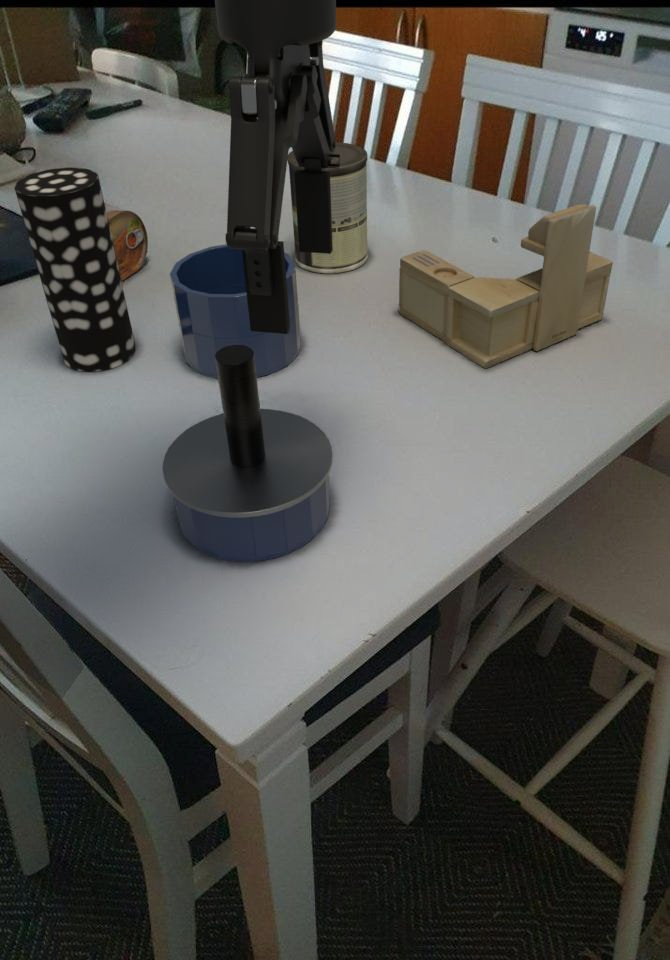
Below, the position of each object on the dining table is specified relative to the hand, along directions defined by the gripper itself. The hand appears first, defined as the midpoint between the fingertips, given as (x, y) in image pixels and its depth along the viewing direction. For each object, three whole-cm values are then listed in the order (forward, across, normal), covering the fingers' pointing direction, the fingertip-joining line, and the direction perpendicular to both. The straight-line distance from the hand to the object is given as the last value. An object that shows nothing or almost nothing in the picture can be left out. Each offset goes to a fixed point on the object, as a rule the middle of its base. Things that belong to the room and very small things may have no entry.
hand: (295, 287), depth 63 cm
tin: (+20, +36, +37) cm, 55 cm away
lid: (+14, -4, +4) cm, 15 cm away
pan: (+20, -4, +4) cm, 20 cm away
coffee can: (+20, +48, +9) cm, 53 cm away
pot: (+20, +22, +14) cm, 33 cm away
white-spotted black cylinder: (+20, +19, +30) cm, 40 cm away
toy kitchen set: (+20, +34, -15) cm, 42 cm away
